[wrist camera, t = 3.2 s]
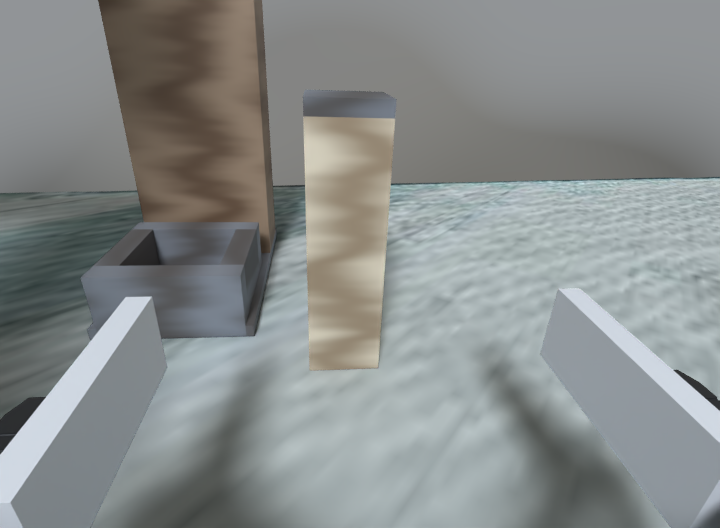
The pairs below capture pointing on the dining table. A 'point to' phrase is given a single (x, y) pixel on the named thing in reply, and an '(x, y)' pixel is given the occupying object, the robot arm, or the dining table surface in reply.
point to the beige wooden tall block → (346, 223)
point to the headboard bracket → (191, 166)
